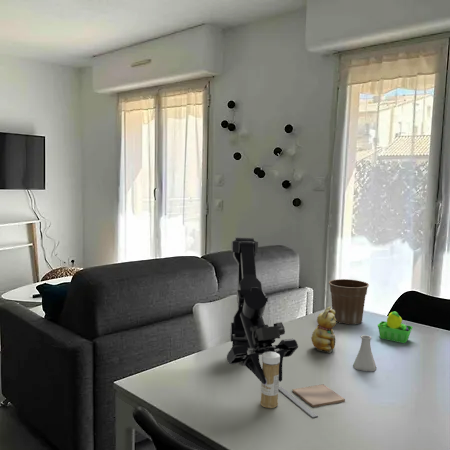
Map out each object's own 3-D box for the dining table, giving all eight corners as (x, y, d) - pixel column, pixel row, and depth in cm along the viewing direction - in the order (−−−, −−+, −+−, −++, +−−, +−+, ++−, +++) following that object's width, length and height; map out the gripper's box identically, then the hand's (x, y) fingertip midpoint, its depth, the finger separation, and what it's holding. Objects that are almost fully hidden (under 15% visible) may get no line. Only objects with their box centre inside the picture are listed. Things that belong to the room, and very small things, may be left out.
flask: (377, 373, 146) (379, 341, 145) (353, 370, 148) (354, 339, 147) (375, 364, 153) (377, 334, 153) (351, 362, 155) (353, 332, 154)
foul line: (276, 388, 134) (276, 387, 134) (281, 387, 134) (281, 386, 134) (312, 418, 117) (312, 416, 117) (317, 417, 118) (317, 415, 118)
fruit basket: (412, 339, 180) (414, 309, 179) (407, 345, 172) (409, 315, 171) (381, 333, 186) (383, 305, 185) (375, 339, 178) (376, 309, 177)
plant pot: (345, 328, 192) (346, 288, 190) (319, 317, 206) (320, 280, 204) (375, 323, 199) (377, 285, 198) (348, 313, 213) (350, 278, 212)
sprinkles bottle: (256, 405, 123) (258, 354, 122) (267, 399, 127) (268, 349, 126) (271, 410, 120) (273, 358, 119) (281, 404, 124) (283, 353, 123)
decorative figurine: (333, 355, 160) (335, 311, 159) (308, 352, 163) (310, 309, 161) (336, 346, 169) (338, 305, 168) (313, 343, 172) (314, 302, 171)
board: (292, 391, 132) (292, 389, 132) (323, 386, 136) (323, 384, 136) (312, 407, 123) (312, 405, 123) (344, 401, 127) (345, 399, 127)
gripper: (232, 315, 121) (250, 373, 112) (296, 309, 129) (317, 363, 120) (219, 336, 129) (235, 392, 120) (280, 329, 137) (299, 382, 127)
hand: (272, 382), depth 122 cm, fingers closed on sprinkles bottle, 4 cm apart
